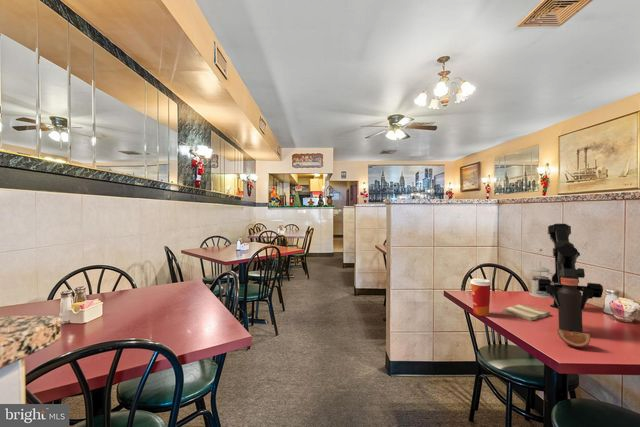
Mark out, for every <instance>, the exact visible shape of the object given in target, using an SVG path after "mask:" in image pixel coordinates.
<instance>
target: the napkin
mask: <svg viewBox="0 0 640 427" xmlns="http://www.w3.org/2000/svg"><path fill="white" fill-rule="evenodd" d="M501 313H504V314H506V315H509V316H513V317H517V318H520V319H523V320H525V321H529V322H530V321H531V322H532V321H536V320H539V319H543V318H546V317H549V316H550V315H551V311H548V310H545V309H540V308H536V307H534V306H533V307H532V306H530V305H525V304H522V303H519V304H516V305H511V306H508V307H505V308H501Z"/></svg>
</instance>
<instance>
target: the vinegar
mask: <svg viewBox="0 0 640 427" xmlns="http://www.w3.org/2000/svg"><path fill="white" fill-rule="evenodd" d="M561 285H562V288H560V289H559V290H558V300H559V303H560V306H558V308H557V309H558V311H557V312H558V315H557V316H558V329H560V330H566V331H570V332H573V331H574V332H580V333H584V332H583V309H582V291H579V290H578V289H577V287H578V286H579V283H578V279H576V278H567V277H561ZM577 285H578V286H577Z"/></svg>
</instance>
